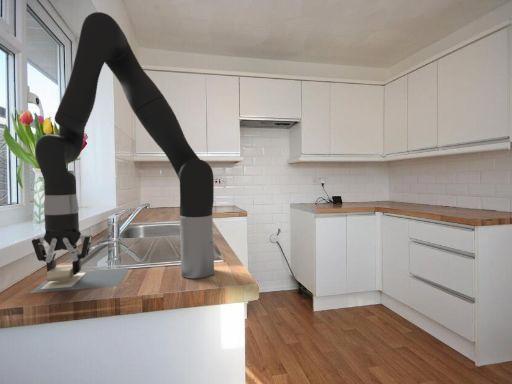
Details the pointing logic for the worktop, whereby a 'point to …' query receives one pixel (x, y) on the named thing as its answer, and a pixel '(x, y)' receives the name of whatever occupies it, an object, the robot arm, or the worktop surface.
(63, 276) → the birch tile
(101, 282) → the rubber mat
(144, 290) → the worktop surface
